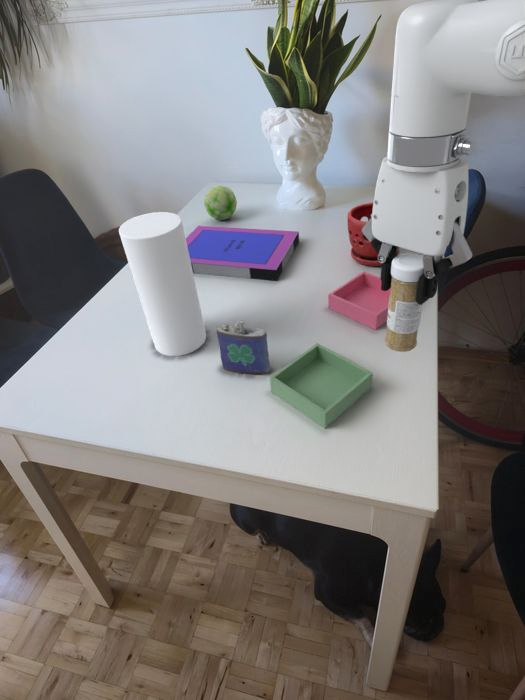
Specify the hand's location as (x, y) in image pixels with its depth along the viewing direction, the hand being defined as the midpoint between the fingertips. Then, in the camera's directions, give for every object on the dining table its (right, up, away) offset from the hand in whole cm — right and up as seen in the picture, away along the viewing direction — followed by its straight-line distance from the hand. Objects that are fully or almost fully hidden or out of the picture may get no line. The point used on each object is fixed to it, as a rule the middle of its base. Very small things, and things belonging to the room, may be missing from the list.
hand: (406, 291), depth 58 cm
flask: (-22, -11, +23) cm, 34 cm away
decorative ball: (-31, +33, +79) cm, 91 cm away
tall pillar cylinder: (-36, -6, +32) cm, 49 cm away
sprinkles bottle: (+1, -7, +6) cm, 9 cm away
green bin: (-9, -15, +17) cm, 24 cm away
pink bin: (+4, +2, +35) cm, 36 cm away
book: (-27, +17, +59) cm, 67 cm away
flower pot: (+8, +15, +52) cm, 55 cm away
